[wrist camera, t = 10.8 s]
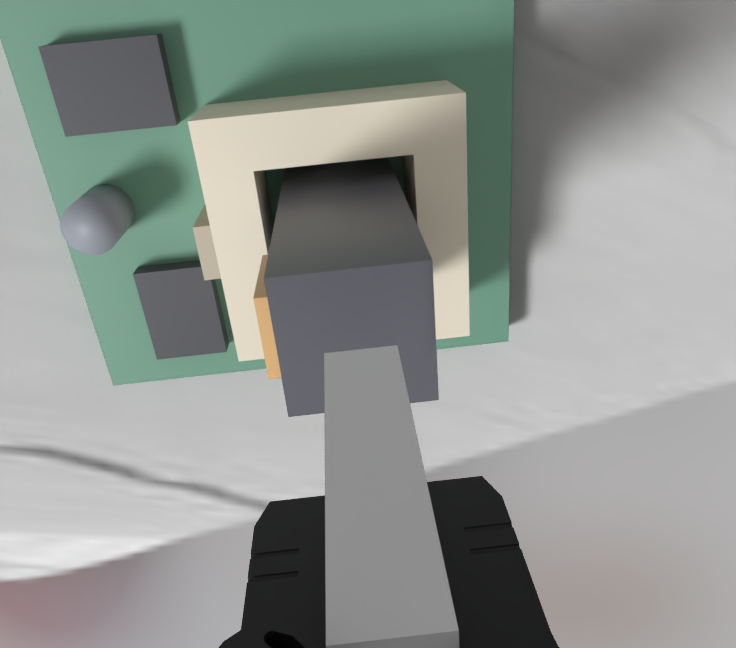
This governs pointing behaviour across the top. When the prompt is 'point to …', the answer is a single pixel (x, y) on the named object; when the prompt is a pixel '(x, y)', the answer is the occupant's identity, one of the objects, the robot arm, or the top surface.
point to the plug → (345, 280)
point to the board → (257, 70)
